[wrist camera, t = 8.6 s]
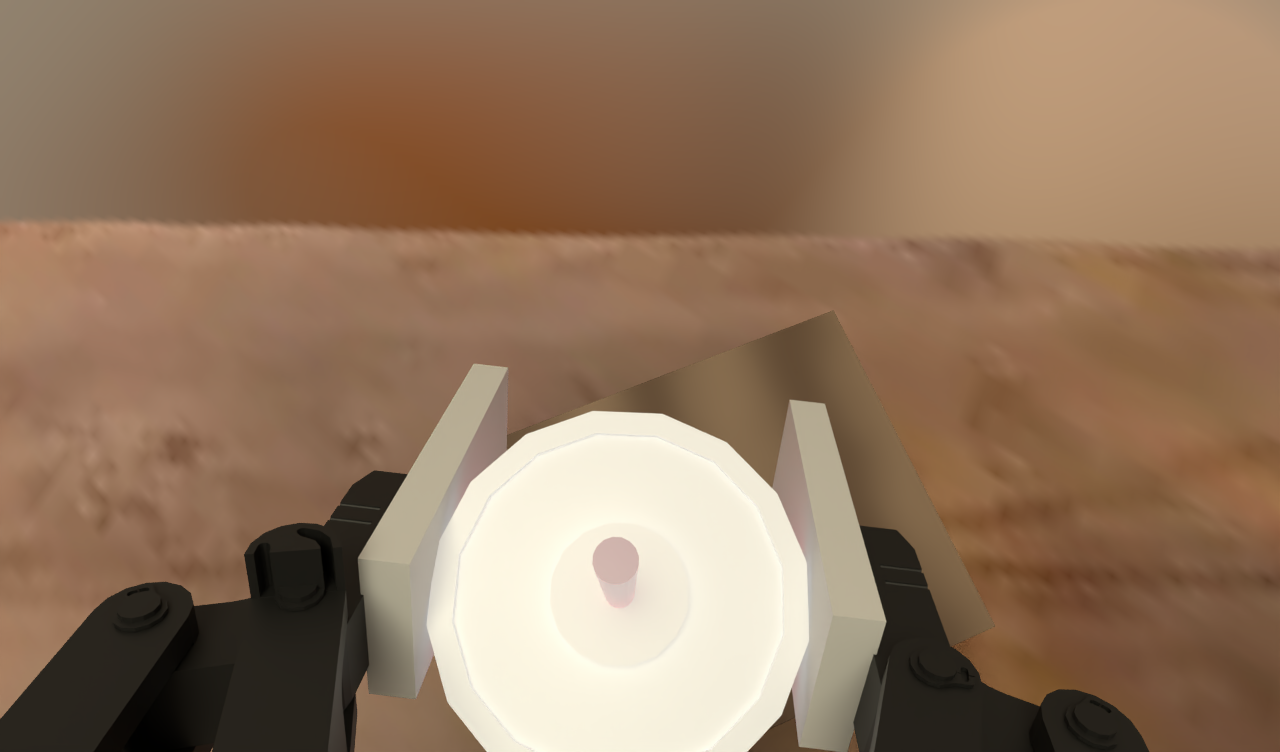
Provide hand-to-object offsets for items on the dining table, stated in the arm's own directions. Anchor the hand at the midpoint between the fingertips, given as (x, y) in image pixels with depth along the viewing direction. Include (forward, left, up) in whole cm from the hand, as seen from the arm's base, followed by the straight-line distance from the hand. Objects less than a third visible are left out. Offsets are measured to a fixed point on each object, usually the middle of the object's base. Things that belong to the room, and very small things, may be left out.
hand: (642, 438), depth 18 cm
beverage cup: (+2, +3, -5) cm, 6 cm away
